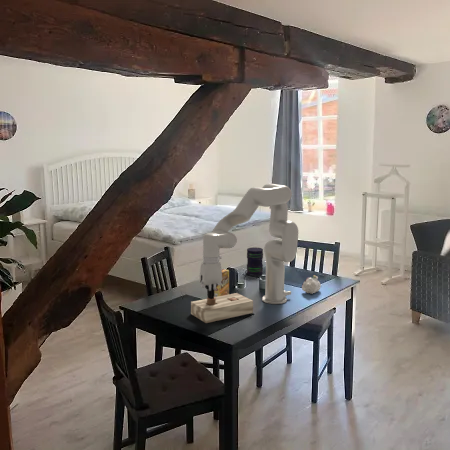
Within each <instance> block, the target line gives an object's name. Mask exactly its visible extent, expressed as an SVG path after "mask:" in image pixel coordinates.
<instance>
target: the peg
mask: <svg viewBox="0 0 450 450" xmlns="http://www.w3.org/2000/svg"><path fill="white" fill-rule="evenodd" d="M206 299H207V305H209V306H211V305H216V298H215V297H214V299H210V298H208V296H206Z"/></svg>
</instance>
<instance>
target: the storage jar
mask: <svg viewBox="0 0 450 450" xmlns="http://www.w3.org/2000/svg"><path fill="white" fill-rule="evenodd" d="M246 250H247V251H246V258H247V261H246V263H247V264H246V274H247V275H250V276H261V275H262V274H263V270H264V264H263V259H264V248H261V247H248V248H247V249H246Z"/></svg>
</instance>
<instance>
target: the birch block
mask: <svg viewBox="0 0 450 450" xmlns="http://www.w3.org/2000/svg"><path fill="white" fill-rule="evenodd" d="M215 298H216V305H211V306H209V305H207V298H205V299H200V300H194V301H190V314H191V315H192V316H194V317H196V319H199V320H200V321H202V322H203V323H205V324H208V323H213V322H216V321H217V322H218V321H222V320H226V319H230V318H231V319H232V318H235V317H240V316H245V315H249V314H253V313H254V300H252V299H250V298H248V297H246V296H244V295H242V294H240V293H238V292H236V293H235V292H234V293H231V294H230V293H229V295H224V296H219V297H215ZM229 298H236V299H237V300H235V301H230V300H229Z"/></svg>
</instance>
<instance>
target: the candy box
mask: <svg viewBox="0 0 450 450" xmlns="http://www.w3.org/2000/svg"><path fill="white" fill-rule="evenodd" d="M221 269H222V268H221ZM229 294H230V270H229V269H224V268H223V269H222V281H221V284H220V285H218V286H217V287H216V290H215V295H214V297H219V296H224V295H229Z"/></svg>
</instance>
